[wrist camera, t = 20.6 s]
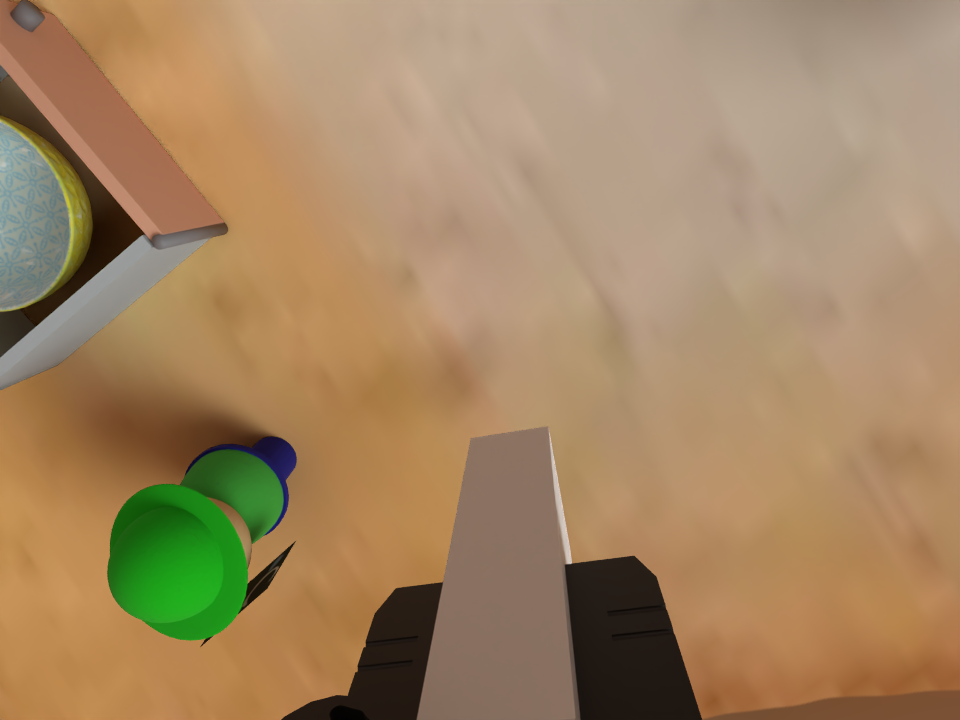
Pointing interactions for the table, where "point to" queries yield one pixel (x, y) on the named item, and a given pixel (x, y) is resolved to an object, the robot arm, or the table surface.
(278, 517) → the toy
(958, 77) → the table surface
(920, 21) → the table surface
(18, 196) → the bowl
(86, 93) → the door
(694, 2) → the table surface
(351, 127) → the table surface
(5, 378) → the box
